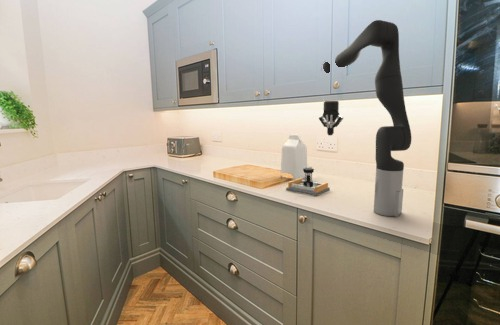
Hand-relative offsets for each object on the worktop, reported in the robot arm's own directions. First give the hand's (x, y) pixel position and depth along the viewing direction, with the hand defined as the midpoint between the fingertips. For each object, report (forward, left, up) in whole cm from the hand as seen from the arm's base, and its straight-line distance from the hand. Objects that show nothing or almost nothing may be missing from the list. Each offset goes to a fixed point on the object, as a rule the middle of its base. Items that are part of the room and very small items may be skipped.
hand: (330, 135), depth 143 cm
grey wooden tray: (+4, +15, -26) cm, 30 cm away
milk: (+26, -6, -27) cm, 38 cm away
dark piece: (+4, +15, -25) cm, 30 cm away
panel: (+4, +15, -27) cm, 31 cm away
